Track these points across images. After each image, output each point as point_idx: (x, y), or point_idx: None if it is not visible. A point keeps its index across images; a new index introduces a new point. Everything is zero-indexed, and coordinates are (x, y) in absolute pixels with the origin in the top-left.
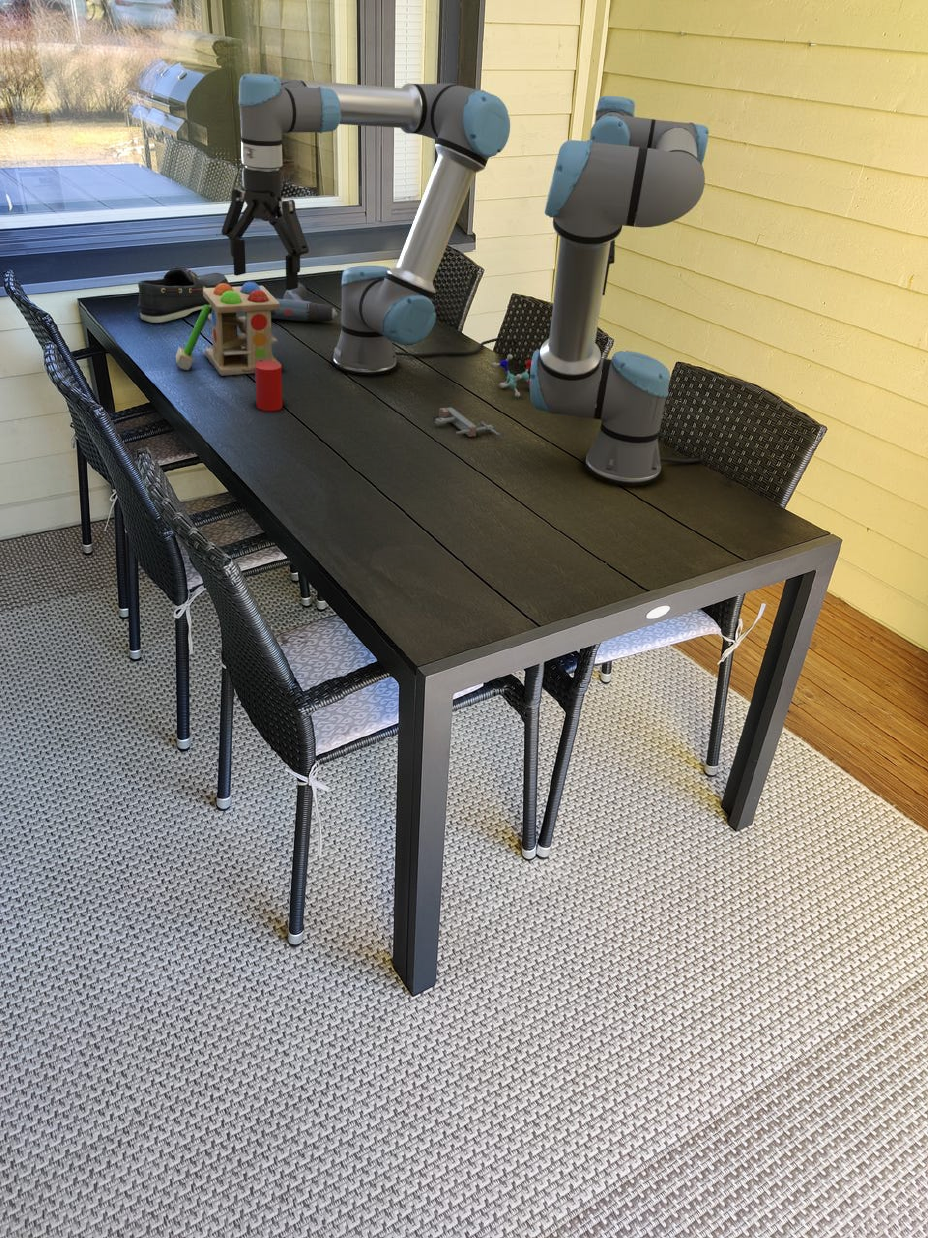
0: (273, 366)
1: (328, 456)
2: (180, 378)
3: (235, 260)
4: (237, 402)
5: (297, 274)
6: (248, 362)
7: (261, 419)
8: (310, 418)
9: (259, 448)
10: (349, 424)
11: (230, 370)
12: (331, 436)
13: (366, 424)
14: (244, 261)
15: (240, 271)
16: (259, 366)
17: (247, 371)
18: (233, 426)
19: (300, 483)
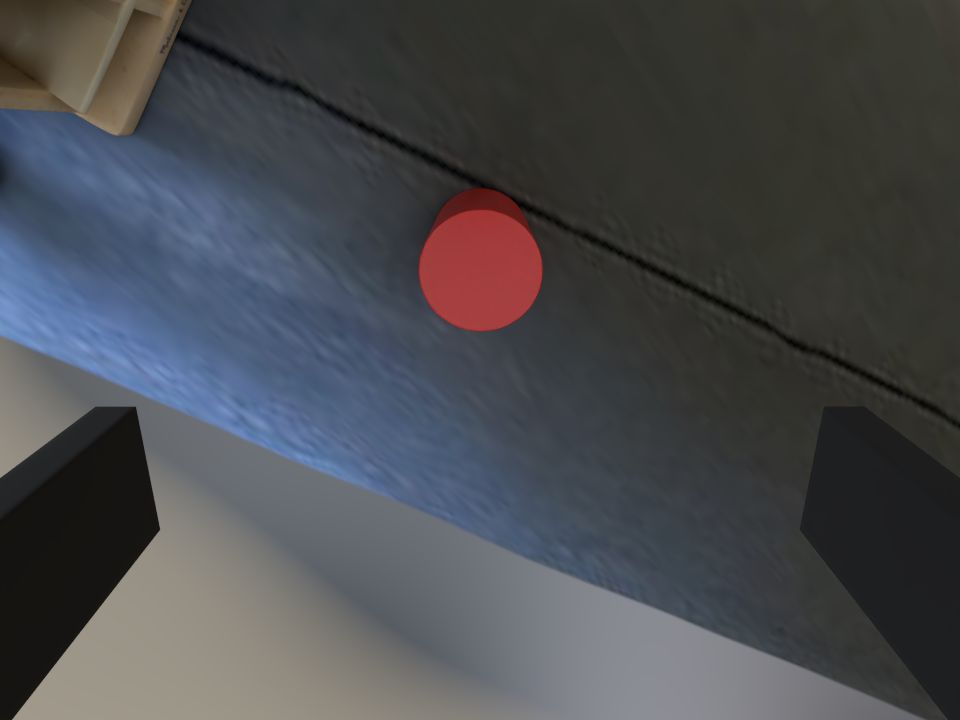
0: (509, 268)
1: None
2: (53, 259)
3: (65, 639)
4: (373, 289)
5: (956, 480)
6: (152, 14)
7: (536, 345)
8: (666, 223)
9: (667, 502)
10: (816, 167)
11: (138, 101)
12: (810, 297)
13: (873, 121)
14: (66, 488)
15: (134, 496)
16: (463, 313)
17: (174, 32)
18: (505, 441)
19: None
